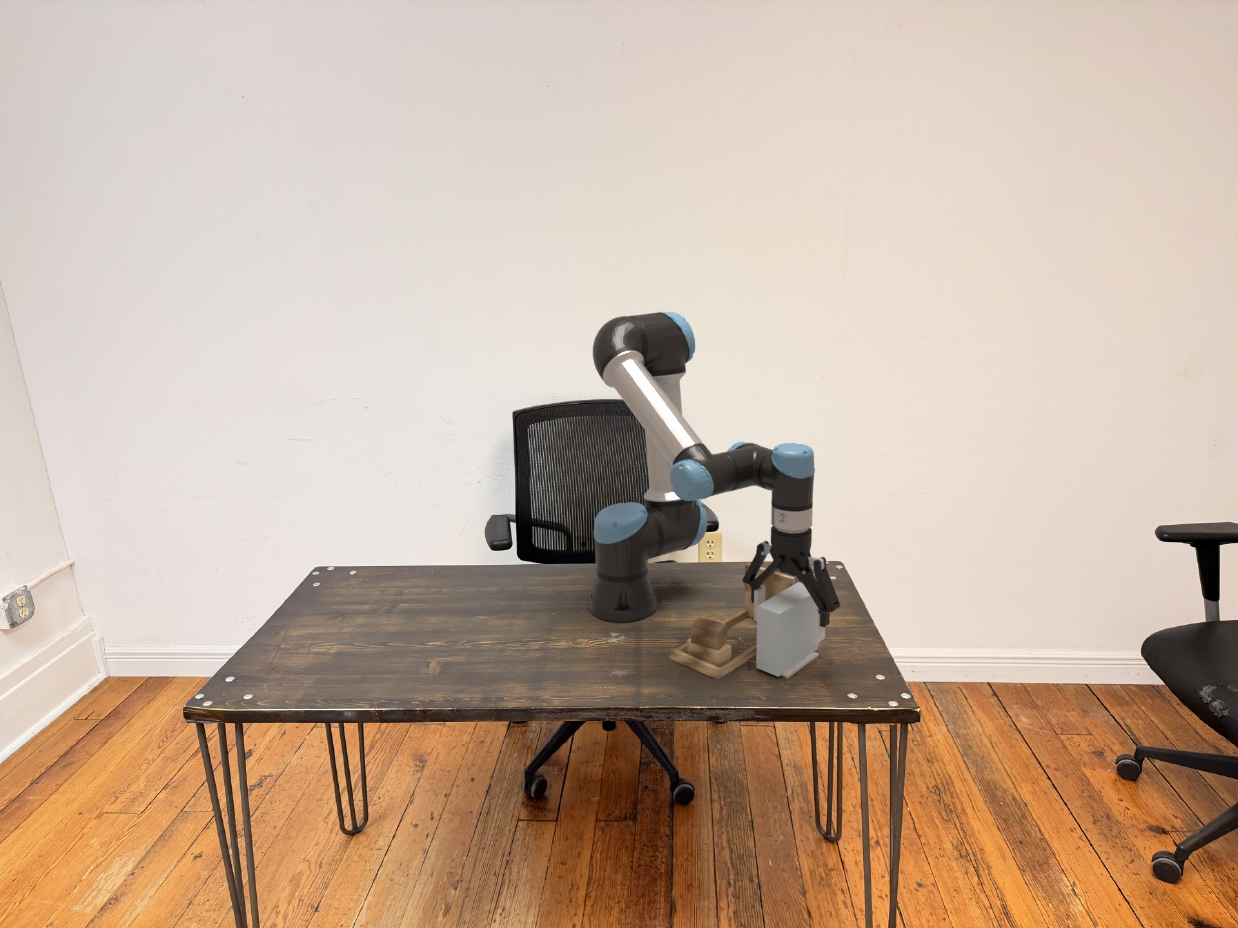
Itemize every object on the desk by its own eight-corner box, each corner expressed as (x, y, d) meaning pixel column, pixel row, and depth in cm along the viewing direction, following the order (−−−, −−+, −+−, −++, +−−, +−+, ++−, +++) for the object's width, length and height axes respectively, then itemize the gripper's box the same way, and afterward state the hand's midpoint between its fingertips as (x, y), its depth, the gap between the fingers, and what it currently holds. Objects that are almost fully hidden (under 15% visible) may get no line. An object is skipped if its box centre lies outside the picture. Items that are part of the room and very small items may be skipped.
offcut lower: (687, 657, 164) (687, 639, 162) (700, 650, 166) (700, 632, 165) (718, 671, 158) (718, 653, 157) (731, 664, 161) (731, 645, 159)
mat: (756, 665, 159) (756, 662, 159) (788, 644, 167) (788, 641, 167) (787, 678, 154) (787, 675, 154) (818, 655, 162) (818, 653, 162)
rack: (670, 658, 163) (669, 603, 160) (747, 613, 181) (747, 562, 177) (718, 679, 155) (718, 622, 151) (793, 629, 172) (795, 577, 169)
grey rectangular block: (756, 667, 157) (757, 606, 154) (796, 640, 167) (798, 582, 163) (778, 676, 154) (779, 613, 150) (818, 648, 164) (820, 588, 160)
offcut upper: (690, 642, 161) (690, 624, 160) (699, 634, 164) (699, 616, 163) (718, 650, 158) (718, 631, 157) (726, 642, 161) (726, 623, 160)
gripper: (725, 517, 159) (725, 616, 165) (841, 548, 142) (836, 658, 148) (748, 507, 164) (747, 603, 170) (862, 536, 147) (856, 642, 153)
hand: (788, 629), depth 159 cm, fingers open, 13 cm apart
